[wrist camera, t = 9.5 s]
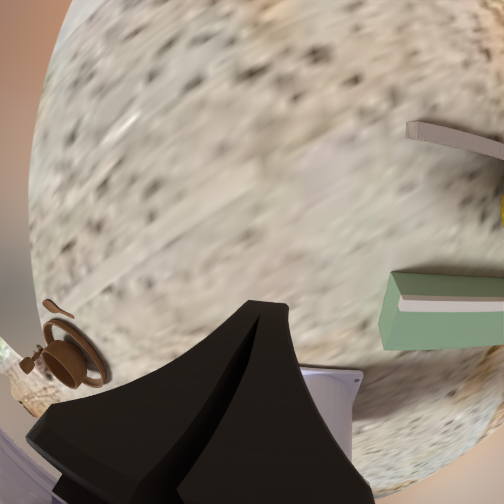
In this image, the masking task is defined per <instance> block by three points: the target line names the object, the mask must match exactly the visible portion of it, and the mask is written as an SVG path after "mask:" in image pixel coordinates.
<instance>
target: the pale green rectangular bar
mask: <svg viewBox="0 0 504 504" xmlns="http://www.w3.org/2000/svg"><path fill="white" fill-rule="evenodd" d="M378 326H379V330H380V334H381V339H382V343H383V348H384V350H438V349H457V348H471V347H483V346H493V345H501V344H504V278H490V277H470V276H452V275H434V274H417V273H400V272H391V273H390V278H389V282H388V287H387V291H386V295H385V300H384V304H383V308H382V312H381V315H380V319H379V323H378Z"/></svg>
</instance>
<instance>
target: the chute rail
mask: <svg viewBox="0 0 504 504" xmlns="http://www.w3.org/2000/svg"><path fill="white" fill-rule="evenodd" d="M406 138H409V139H415V140H420V141H426V142H431V143H436V144H441V145H446V146H450V147H455V148H459V149H463V150H467V151H471V152H475V153H479V154H482V155H486V156H489V157H493V158H496V159H499V160H503V161H504V144H502V143H499V142H496V141H493V140H490V139H487V138H484V137H481V136H477V135H474V134H470V133H467V132H463V131H459V130H455V129H451V128H447V127H443V126H439V125H434V124H429V123H424V122H419V121H414V122H406Z"/></svg>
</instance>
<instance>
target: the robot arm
mask: <svg viewBox="0 0 504 504" xmlns="http://www.w3.org/2000/svg"><path fill="white" fill-rule="evenodd" d="M288 314H289V307H288V305H287V304H285V303H274V302H264V301H254V300H248V301H247V302H245V303H244V304H243V305H242V306H241V307H240V308H239V309H238V310H237V311H236V312H235V313H234V314H233V315H231V316H230V317H229V318H228V319H227V320H226V321H225V322H224V323H223V324H221V325H220V326H219V327H218V328H217V329H216V330H214V331H213V332H212V333H211V334H210V335H208V336H207V337H206V338H205V339H203V340H202V341H201V342H199V343H198V344H197V345H195V346H194V347H193V348H191V349H190V350H188V351H187V352H186V353H184V354H183V355H181V356H180V357H178V358H176V359H175V360H173V361H172V362H170V363H168V364H166V365H165V366H163V367H161V368H159V369H157V370H156V371H153V372H151V373H149V374H147V375H145V376H143V377H141V378H139V379H136V380H134V381H132V382H130V383H127V384H125V385H122V386H120V387H117V388H114V389H111V390H108V391H105V392H102V393H99V394H96V395H92V396H89V397H85V398H80V399H75V400H71V401H66V402H61V403H55V404H51V405H50V406H49V408H48V409H47V410H46V411H45V412H44V414H43V415H42V416H41V417H40V419H39V420H38V421H37V422H36V424H35V425H34V426H33V428H32V429H31V430H30V431H29V433H28V434H27V435H26V441H27V442H28V444H30V446H31V447H32V448H33V449H35V450H36V451H37V452H38V453H39V454H40V455H41V456H42V457H43V458H44V459H46V460H47V461H48V462H49V463H50V464H51V465H53V466H54V467H55V468H56V469H57V470H59V471H60V472H61V473H62V476H61V477H60V479H59V480H58V479H57V478H55V477H54V476H53V475H51V474H50V473H49V472H48V471H46V470H45V469H44V468H43V467H42V466H40V465H39V464H38V463H37V462H36V461H34V460H33V459H32V458H31V457H30V456H29V455H28V454H27V453H25V452H24V451H23V450H22V449H21V448H20V447H19V446H18V445H17V444H16V443H15V442H14V440H13V439H12V438H11V437H10V436H9V435H8V434H7V433H6V432H5V431H4V430H3V429H2V428H1V427H0V504H375V501H374V497H373V494H372V490H371V488H370V485H369V482H368V481H367V480H366V479H364V477H363V476H361V475H360V474H359V472H358V471H357V470H356V469H355V467H354V465H352V463H351V460H352V405H353V403H354V400H355V398H356V395H357V393H358V390H359V387H360V385H361V382H362V379H363V376H364V375H363V372H362V371H359V370H336V369H319V368H306V367H299V364H298V361H297V358H296V354H295V351H294V347H293V343H292V339H291V335H290V330H289V323H288Z"/></svg>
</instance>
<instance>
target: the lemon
mask: <svg viewBox="0 0 504 504" xmlns="http://www.w3.org/2000/svg"><path fill="white" fill-rule="evenodd" d="M501 218H502V223H503V227H504V193H503V196H502V201H501Z"/></svg>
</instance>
